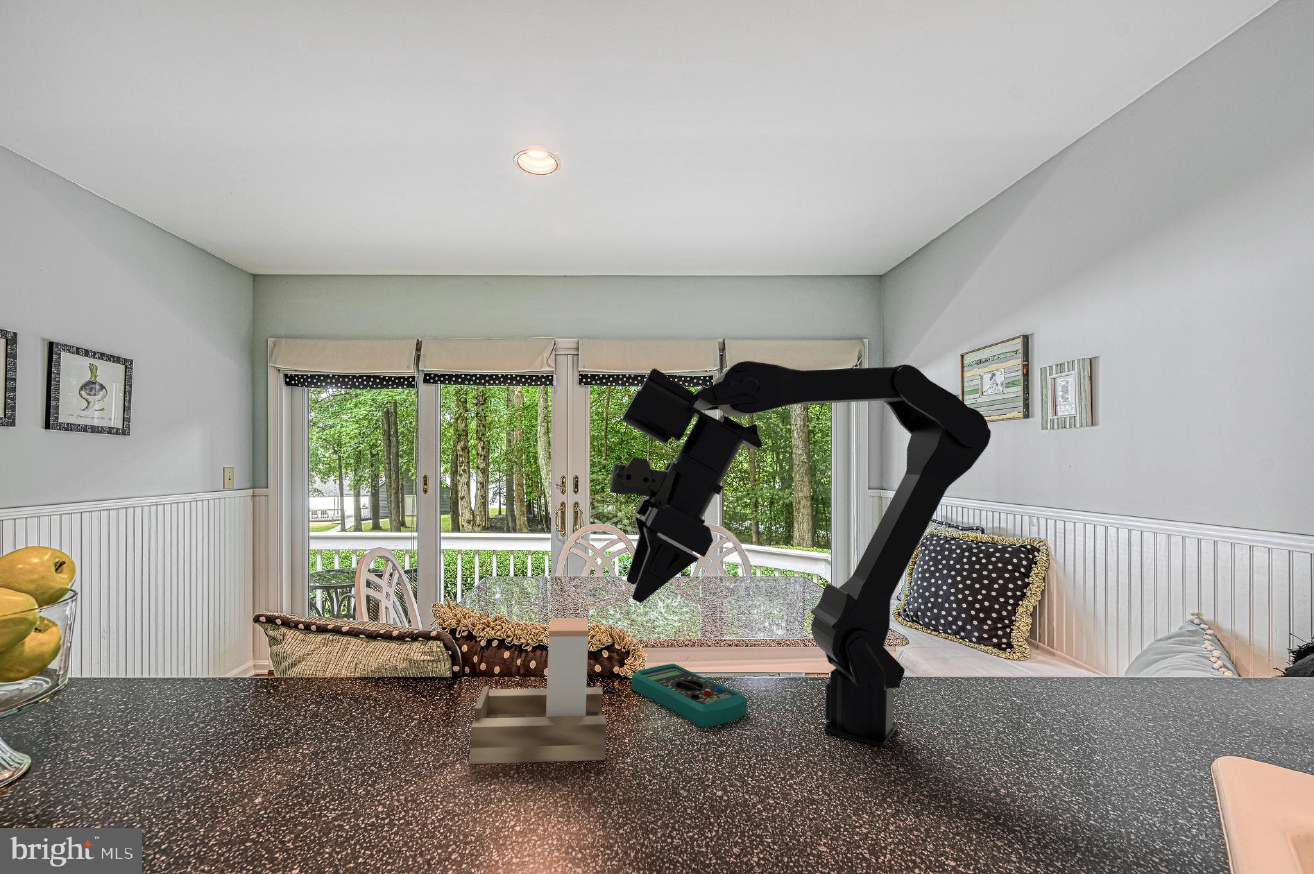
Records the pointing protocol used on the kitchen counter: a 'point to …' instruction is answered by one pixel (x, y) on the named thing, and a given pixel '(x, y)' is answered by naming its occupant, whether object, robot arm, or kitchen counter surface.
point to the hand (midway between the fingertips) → (632, 591)
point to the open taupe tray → (534, 729)
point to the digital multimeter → (690, 695)
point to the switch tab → (567, 667)
